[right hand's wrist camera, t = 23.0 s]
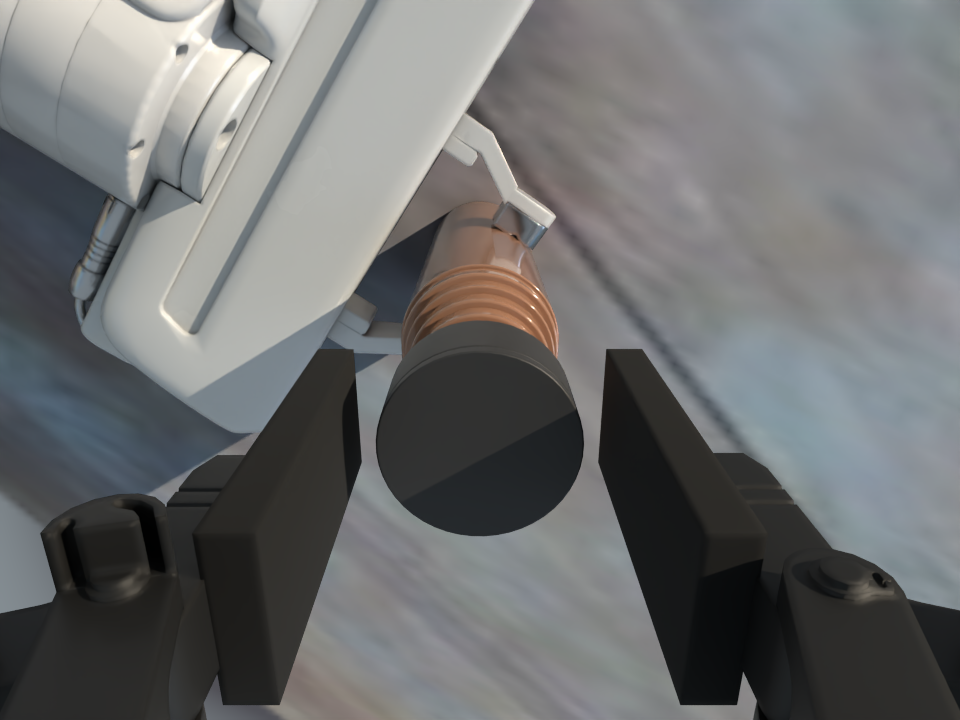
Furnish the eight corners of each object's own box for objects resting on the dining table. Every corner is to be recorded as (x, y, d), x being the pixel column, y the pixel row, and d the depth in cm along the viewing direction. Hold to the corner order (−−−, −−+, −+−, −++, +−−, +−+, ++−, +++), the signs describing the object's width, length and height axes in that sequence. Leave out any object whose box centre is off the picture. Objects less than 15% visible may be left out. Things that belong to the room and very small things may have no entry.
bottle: (515, 190, 30) (567, 303, 12) (535, 283, 32) (607, 500, 14) (421, 214, 30) (341, 355, 13) (446, 304, 32) (404, 542, 14)
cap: (557, 304, 14) (569, 334, 12) (581, 470, 15) (595, 520, 13) (369, 336, 14) (352, 370, 12) (410, 497, 15) (400, 550, 13)
